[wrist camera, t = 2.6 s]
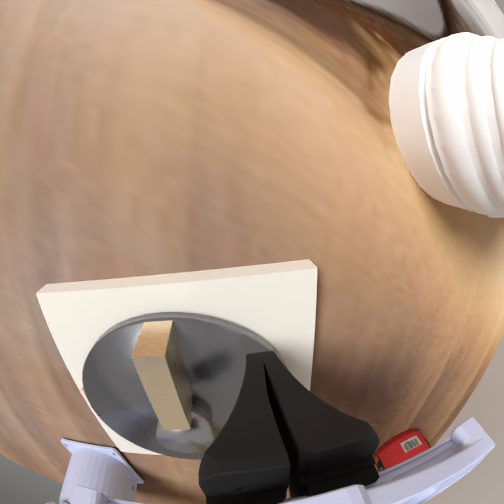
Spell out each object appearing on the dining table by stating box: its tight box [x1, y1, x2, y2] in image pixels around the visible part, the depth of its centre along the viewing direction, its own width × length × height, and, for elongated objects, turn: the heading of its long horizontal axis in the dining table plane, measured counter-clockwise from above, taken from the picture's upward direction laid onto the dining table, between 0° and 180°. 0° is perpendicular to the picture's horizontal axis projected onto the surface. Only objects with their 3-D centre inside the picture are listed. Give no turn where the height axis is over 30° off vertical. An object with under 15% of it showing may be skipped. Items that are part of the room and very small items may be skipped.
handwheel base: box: [36, 259, 317, 455], centre depth 18 cm, size 18×18×2 cm
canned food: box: [374, 429, 431, 472], centre depth 23 cm, size 8×8×11 cm
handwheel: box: [82, 312, 288, 459], centre depth 15 cm, size 15×15×4 cm
